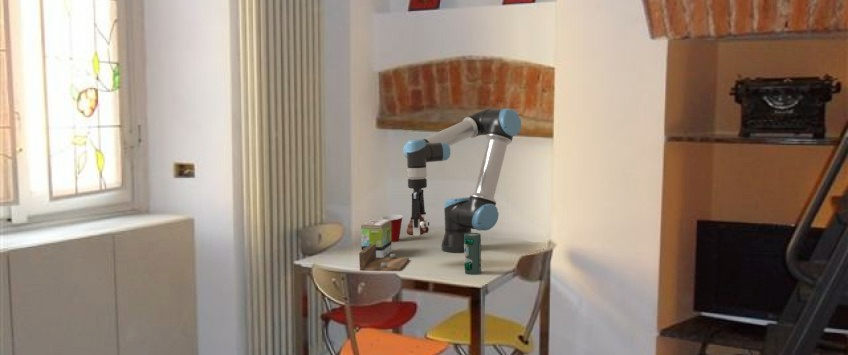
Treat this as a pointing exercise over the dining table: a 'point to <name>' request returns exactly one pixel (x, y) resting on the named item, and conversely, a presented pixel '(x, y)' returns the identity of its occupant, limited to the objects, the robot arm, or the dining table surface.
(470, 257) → the can
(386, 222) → the tea box
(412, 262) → the dining table surface
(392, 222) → the plastic cup
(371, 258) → the ledge
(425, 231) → the poop emoji
